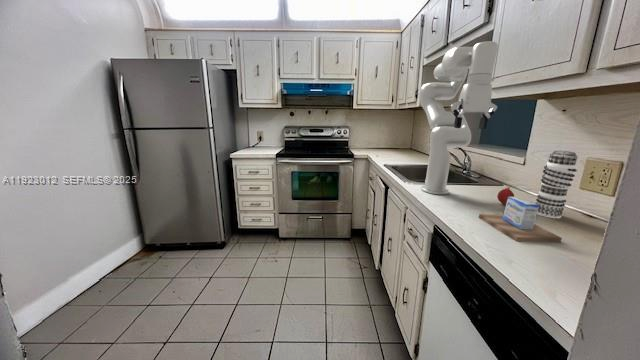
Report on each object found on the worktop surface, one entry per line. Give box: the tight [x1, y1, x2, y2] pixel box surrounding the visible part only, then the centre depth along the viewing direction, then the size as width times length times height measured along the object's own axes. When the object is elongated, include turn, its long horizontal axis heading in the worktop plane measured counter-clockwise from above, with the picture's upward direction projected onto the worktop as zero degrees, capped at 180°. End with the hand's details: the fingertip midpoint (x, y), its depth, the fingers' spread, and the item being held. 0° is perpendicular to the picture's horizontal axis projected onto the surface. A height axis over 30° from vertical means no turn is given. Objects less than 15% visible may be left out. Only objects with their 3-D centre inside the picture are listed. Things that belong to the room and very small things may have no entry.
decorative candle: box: [534, 150, 579, 219], centre depth 96 cm, size 9×9×25 cm
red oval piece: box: [497, 186, 515, 206], centre depth 108 cm, size 6×6×8 cm
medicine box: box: [503, 196, 539, 230], centre depth 84 cm, size 8×4×9 cm, turn 2°
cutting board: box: [478, 213, 563, 243], centre depth 85 cm, size 18×14×2 cm
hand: (469, 128), depth 96 cm, fingers open, 9 cm apart
